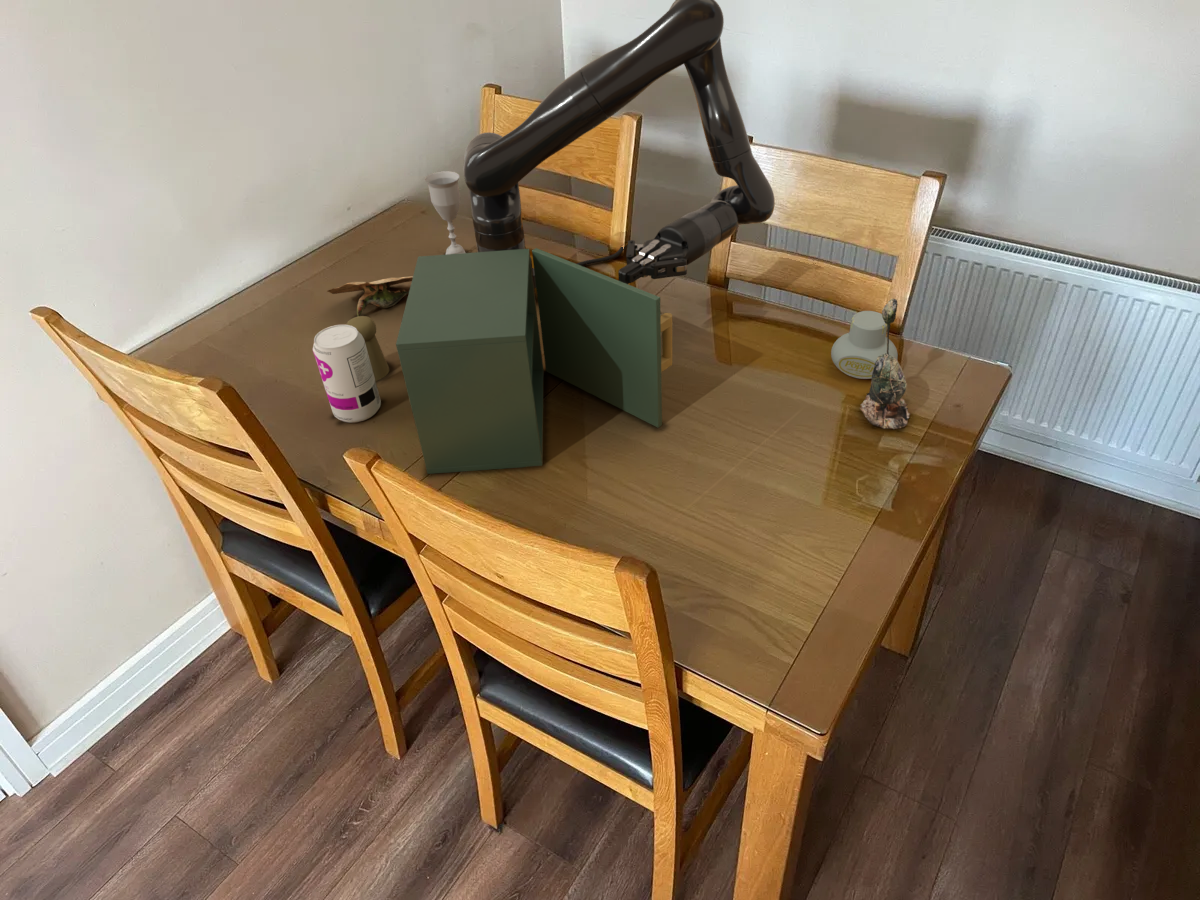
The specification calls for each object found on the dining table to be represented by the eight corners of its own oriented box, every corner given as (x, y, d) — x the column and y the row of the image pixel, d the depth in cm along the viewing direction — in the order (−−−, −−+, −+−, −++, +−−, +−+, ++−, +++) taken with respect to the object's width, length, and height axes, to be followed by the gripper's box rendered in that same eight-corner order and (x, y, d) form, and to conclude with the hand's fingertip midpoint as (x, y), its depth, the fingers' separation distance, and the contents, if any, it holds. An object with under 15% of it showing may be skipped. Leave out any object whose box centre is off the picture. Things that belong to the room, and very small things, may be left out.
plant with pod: (847, 429, 139) (864, 321, 126) (868, 391, 146) (886, 285, 133) (898, 443, 135) (922, 333, 122) (917, 403, 143) (941, 296, 130)
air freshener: (824, 375, 150) (830, 325, 144) (835, 350, 156) (842, 301, 149) (889, 388, 146) (898, 338, 140) (898, 362, 152) (908, 312, 145)
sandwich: (387, 310, 188) (384, 274, 186) (431, 313, 179) (428, 275, 177) (314, 318, 174) (310, 279, 172) (357, 321, 165) (354, 280, 164)
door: (570, 355, 159) (559, 235, 144) (682, 409, 145) (683, 282, 129) (545, 371, 155) (531, 250, 140) (658, 427, 141) (656, 300, 126)
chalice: (478, 252, 193) (465, 173, 181) (462, 266, 188) (448, 186, 176) (450, 247, 195) (436, 169, 184) (433, 261, 191) (418, 182, 179)
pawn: (381, 383, 156) (367, 330, 149) (350, 380, 157) (335, 328, 150) (394, 364, 160) (381, 312, 153) (364, 361, 161) (349, 310, 154)
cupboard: (543, 371, 156) (529, 248, 140) (542, 466, 136) (525, 335, 120) (443, 378, 156) (418, 256, 141) (427, 474, 136) (395, 344, 121)
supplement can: (340, 430, 146) (317, 355, 136) (328, 405, 151) (305, 331, 142) (387, 414, 148) (367, 340, 139) (373, 390, 154) (353, 317, 144)
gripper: (719, 268, 148) (653, 311, 139) (659, 247, 155) (593, 286, 146) (720, 227, 143) (652, 269, 134) (658, 207, 151) (590, 245, 141)
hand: (621, 278), depth 140 cm, fingers closed
